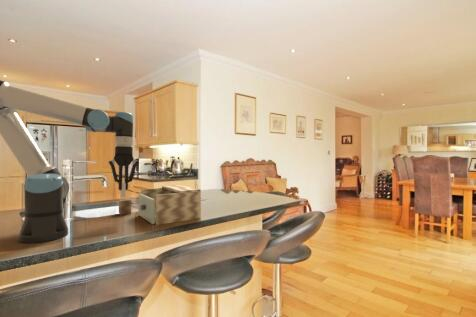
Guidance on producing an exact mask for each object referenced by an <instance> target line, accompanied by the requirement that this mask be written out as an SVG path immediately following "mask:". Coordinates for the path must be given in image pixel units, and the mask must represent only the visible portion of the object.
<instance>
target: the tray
mask: <svg viewBox="0 0 476 317" xmlns="http://www.w3.org/2000/svg"><path fill="white" fill-rule="evenodd" d="M138 216H139V217H140V218H143V219H144V220H146V221H147V222H148V223H150V224H152V225H156V208H155V199H153V198H150V197H148V196H145V195H143V194H141V193H138Z"/></svg>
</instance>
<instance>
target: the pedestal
mask: <svg viewBox="0 0 476 317" xmlns="http://www.w3.org/2000/svg"><path fill="white" fill-rule="evenodd" d="M118 214H120V215H121V216H122V215H130V214H131V215H132V199H130V198H123V199H122V198H121V199H118Z"/></svg>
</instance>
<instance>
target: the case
mask: <svg viewBox="0 0 476 317" xmlns="http://www.w3.org/2000/svg"><path fill="white" fill-rule="evenodd" d="M201 192H202V191H201V189H200V188H196V187H192V186H187V185H183V184H182V185H181V184H176V185H175V184H174V185H161V187H157V188H156V187H155V188H143V189H140V194H143V195H145V196H148V197H150V198H153V199H155V208H156V223H155V225H156V226H158V225H165V224H170V223H177V222H178V223H179V222H183V221H191V220H196V219H201V217H202V216H201V203H202V202H201V197H202V196H201Z"/></svg>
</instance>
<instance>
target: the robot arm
mask: <svg viewBox="0 0 476 317" xmlns="http://www.w3.org/2000/svg"><path fill="white" fill-rule="evenodd" d="M19 111H22V112H25V113H30V114H35V115H39V116H41V117H47V118H50V119H55V120H58V121H61V122H67V123H70V124H75V125H79V126H83V127H84V128H85V130H86V131H87V132H90V133H92V132H93V133H110V134H112V133H113V134H115V135H114V136H115V137H114V145H115V147H114V156H113V159H112V160H108V164H109V166H110V167H111V171H112V172H111V173H112V175H113V176H112V177H113V180H114V182H115V183H118V191H120V197H121V199H122V198H123V199H124V198H126V191H128V189H129V183H130V182H132V181H133V179H134V175H135V172H136V169H137V166H138V165H139V161H138V160H135V159H134V156H133V150H134V149H133V145H134V144H133V141H134V139H133V138H134V116H133V114H132V113H131V112H126V111H117V112H116V113H115V115H114V116H113V115H109V114H108V113H107V112H105V111H104V110H102V109H94V108H91V107H87V106H83V105H79V104H77V103H72V102H69V101H65V100H62V99H58V98H55V97H52V96H51V97H50V96H47V95H44V94H40V93H36V92H32V91H28V90H27V89H22V88H18V87H15V86H12V85H11V84H9V82H8V81H4V80H0V136H1V138H3V140H4V141H5V143H6V145H7V146H8V148H9V149H10V151H11V153H12V154H13V155H14V157H15V159H16V160H17V162H18V163H19V164H20V167H21V168H22V169H23V171H24V172H25V173H26V178H25V179H24V185H23V189H24V192H23V193H24V220H23V223H22V225H21V228H20V230H19V232H18V242H20V243H24V244H25V243H26V244H37V243H38V244H39V243H44V242H45V243H46V242H50V241H56V240H58V239H62V238H65V237H66V236H68V235H69V228H68V225H67V223H66V219H65V217H64V212H63V211H64V210H63V208H64V206H63V201H64V199H65V198H66V197H67V195H68V194H69V191H70V184H69V182H68V180H67V179H66V177H63V176H64V175H62V174H61V173H60V171H59V169H58V168H57V166H54V165H51V164H50V163H49V161H48V159H47V158H46V156H45V155H44V154H43V152H42V150H41V149H40V147H39V145H38V144H37V142H36V141H35V139H34V138H33V135H32V134H31V133H30V131H29V130H28V128H27V126H26V125H25V123H24V122H23V120H22V118H21V117H20V116H19V114H18V112H19ZM115 163H116V164H117V166H118V175H117V171H116V166H115ZM131 163H132V166H131V169H130V172H129V167H130V165H131ZM123 168H124V169H123ZM123 170H124V182H123Z"/></svg>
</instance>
